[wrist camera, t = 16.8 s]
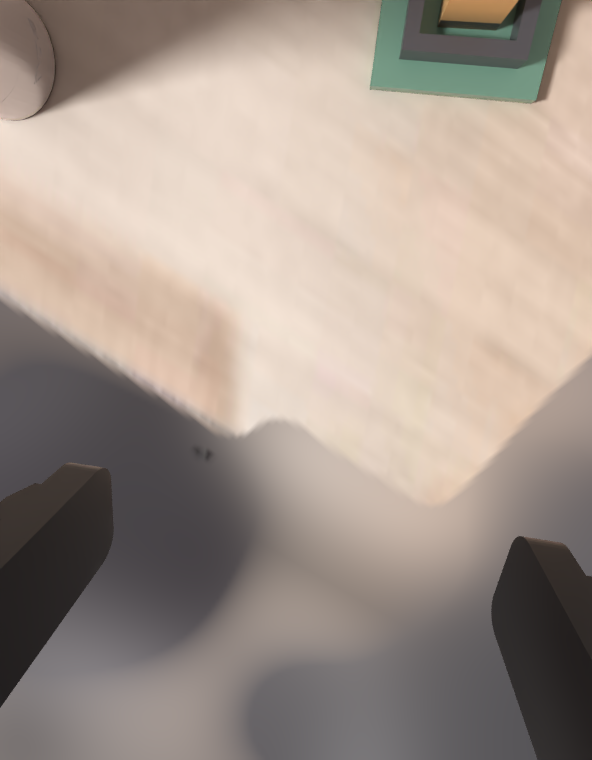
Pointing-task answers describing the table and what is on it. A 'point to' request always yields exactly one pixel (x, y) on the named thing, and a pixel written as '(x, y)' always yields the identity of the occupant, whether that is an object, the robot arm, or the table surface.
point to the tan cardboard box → (474, 13)
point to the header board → (463, 52)
